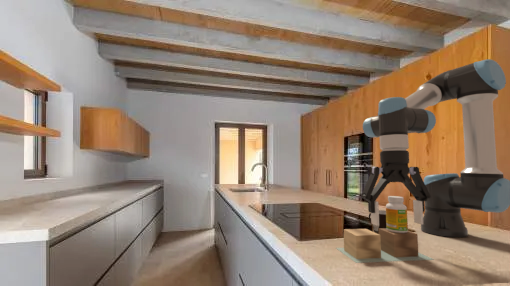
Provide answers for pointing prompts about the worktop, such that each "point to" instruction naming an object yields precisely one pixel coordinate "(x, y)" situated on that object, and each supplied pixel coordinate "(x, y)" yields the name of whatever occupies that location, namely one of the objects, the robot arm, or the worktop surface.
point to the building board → (385, 257)
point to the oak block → (362, 243)
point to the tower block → (399, 243)
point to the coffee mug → (380, 221)
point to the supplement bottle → (396, 215)
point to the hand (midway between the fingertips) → (397, 224)
